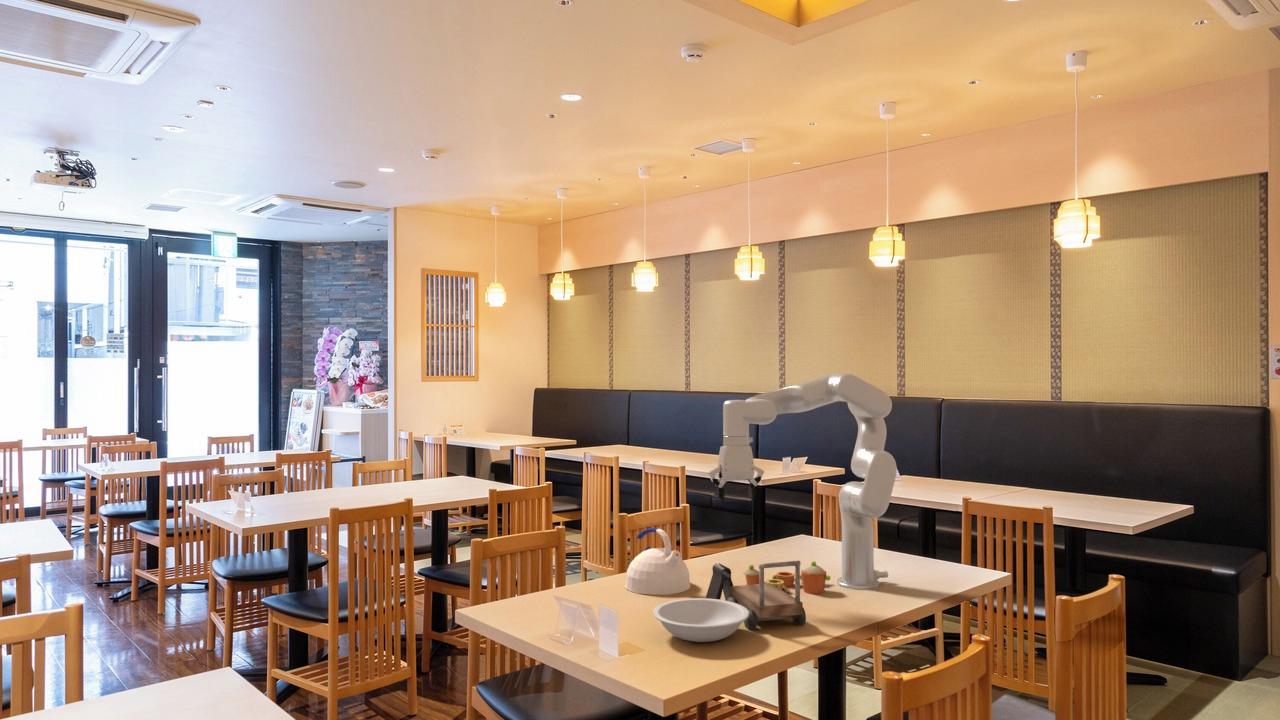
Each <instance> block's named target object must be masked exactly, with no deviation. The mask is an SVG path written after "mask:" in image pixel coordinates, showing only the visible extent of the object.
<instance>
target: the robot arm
mask: <svg viewBox="0 0 1280 720" xmlns="http://www.w3.org/2000/svg"><path fill="white" fill-rule="evenodd" d="M836 402H846V404H847V407H848V409H849V411H850V412H851V414H852V415H853V416H854V418H855V420H856V423H857V428H858V429H857V436H856V441H855V446H854V449H853V454H852V457H851V461H850V469H851V471H852V473H853V474H854V475H855V476H856V477H858V478H861V479H864V482H862V481H861V482H860V481H856V480H855V481H849V482H846V483H845V484H843V486H842V487H840V490H839V492H838V506H839V511H840V518H841V519H840V520H841V577H838V578H837V579H836V584H837V585H838V586H839V587H841V588H844V589H848V590H849V589H851V590H863V591H864V590H865V591H867V590H874V589H877V588H879V587H880V581H879V579H880V578H882V579H884V578H886V579H887V578H889V573H888V571H887V570H884V571H880V570H879V569H878V570H877V569H875V564H874V563H875V562H874V561H875V559H874V557H875V556H874V554H875V553H874V551H875V550H874V548H875V547H874V545H875V543H874V534H875V533H874V530H875V529H874V522H873V521H874V520H873V519H876V518H877V519H878V518H879V517H881V516H883V515H884V514H885V513H886V512H887V510H888V507H889V505H890V501H891V498H892V494H893V489H894V486H895V482H896V477H897V471H898V470H897V462H896V460H895V458H894V456H893V455H892V454H891V453H890V452H888V451H886V450H885V446H886V440H887V433H888V432H887V425H886V422H885V419H884V418H886V417H888V416H889V414H890V413H891V411H892V408H893V402H892V399H891V398H890V396H889V394H888V393H886V392H885V391H884V390H882V389H881V388H878V387H877V386H875V385H873V384H871V383H870V382H867V381H866V380H864V379H862V378H860V377H858V376H856V375H855V374H851V373H836V372H834V373H830V374H826V375H823V376H821V377H817V378H813V379H812V380H811V379H810V380H809V381H804V382H801V383H798V384H794V385H790V386H786V387H783V388H780V389H775V390H772V391H767V392H764V393H760V394H757V395H754V396H751V397H749V398H747V399H745V400H744V399H728V400H725V401H724V402H723V405H722V410H723V411H722V416H723V417H722V420H723V421H722V422H723V423H722V425H723V426H722V427H723V431H722V432H723V440H722V441H723V442H722V445H723V446H720V449H719V454H718V461H717V463H718V464H717V467H715V468H714V469H712V470H710V471H709V472H707V475H708V477H709V478H710V480H711V482H712V484H714V486H715V487H716V498H717V500H718V501H720V502H725V488H724V485H725V483H727V482H737V481H738V482H740V481H747V482H748V487H747V488H748V491H747V492H748V498H749V499H750V500H751V501H752V500H754V501H755V500H756V496H757V486H758V484H759V483H760V482H761V480H762V478H763V475H764V473H765V470H763V469H762V468H760V467H758V466H756V465H755V462H754V455H753V451H752V446H751V445H750V444H751V443H753V442H754V438H753V437H750V432H749V431H750V424H754V425H761V426H762V425H763V426H764V425H769V424H771V423H772V422H774V421H775V420H776V418H777V415H782V414H797V413H804V412H808V411H812V410H814V409H817V408H820V407H824V406H826V405H829V404H833V403H836ZM755 472H756V473H757V474H756V476H755ZM716 475H717V477H718V479H717V478H716Z"/></svg>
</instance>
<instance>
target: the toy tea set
mask: <svg viewBox="0 0 1280 720" xmlns="http://www.w3.org/2000/svg"><path fill="white" fill-rule="evenodd" d="M742 574H743V575H745V580H746V585H753V584H759V570H757V569H755V567H754V564H750V565H749V566H748V568H747V569H745V570H744V571H743V572H742ZM771 577H772V579H771V578H770V579H767V580H766V581H764V583H770V584H772V585H774V586H775V587H777V588H779V589H781V590H782V591H784V592H786V593H787V594H788V592H790V591H791V589H790V588H789V587H793V586H794V584H795V572H790V571H778V572H776V573H775V574H774V575H772V576H771ZM830 580H831V576H830V575H829V574H828V575H827V571H826V570H824V569H823V567H822V566H820V565H817V562H816V561H811V562H810V564H809V565H807V566H805V567H804V568H803V569H802V570H800V583H801V585H802V586H803V592H804V593H806V594H809V595H822V594H824V593H825V587H826V581H830Z"/></svg>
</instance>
